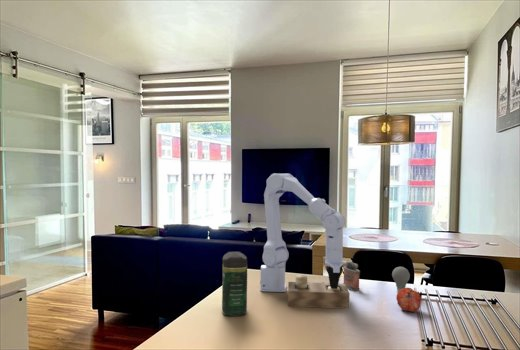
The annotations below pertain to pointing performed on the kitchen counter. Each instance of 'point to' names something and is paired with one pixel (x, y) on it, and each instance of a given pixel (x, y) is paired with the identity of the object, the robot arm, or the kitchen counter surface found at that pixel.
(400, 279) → the light bulb
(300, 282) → the left peg
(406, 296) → the pomegranate
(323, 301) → the wooden block with recesses
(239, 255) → the coffee jar
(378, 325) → the kitchen counter surface
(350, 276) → the red ornate tin
